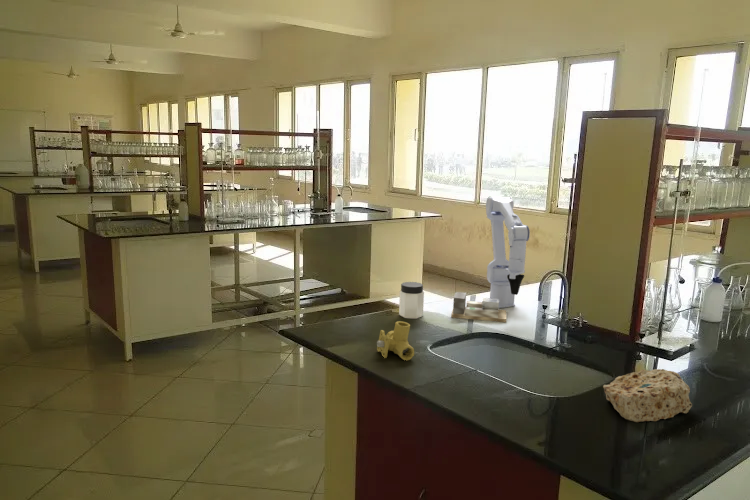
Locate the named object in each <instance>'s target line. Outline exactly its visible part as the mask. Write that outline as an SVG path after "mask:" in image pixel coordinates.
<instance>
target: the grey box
mask: <svg viewBox="0 0 750 500" xmlns="http://www.w3.org/2000/svg"><path fill="white" fill-rule="evenodd" d="M481 302H482V309H497V310H498V309H499V310H500V308H499V299H493V298H490V297H482V300H481Z"/></svg>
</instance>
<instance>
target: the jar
mask: <svg viewBox="0 0 750 500" xmlns="http://www.w3.org/2000/svg"><path fill="white" fill-rule="evenodd" d="M400 287H401V288H400V291H399V303H398V305H399V310H398V315H399V316H401V317H403V318H404V319H414V320H415V319H420V317H421V318H422V317H423V316H424V301H425V300H424V298H425V292H424V284H422V283H421V282H417V281H406V282H405V281H404V282H402V283H401V284H400Z"/></svg>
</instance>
